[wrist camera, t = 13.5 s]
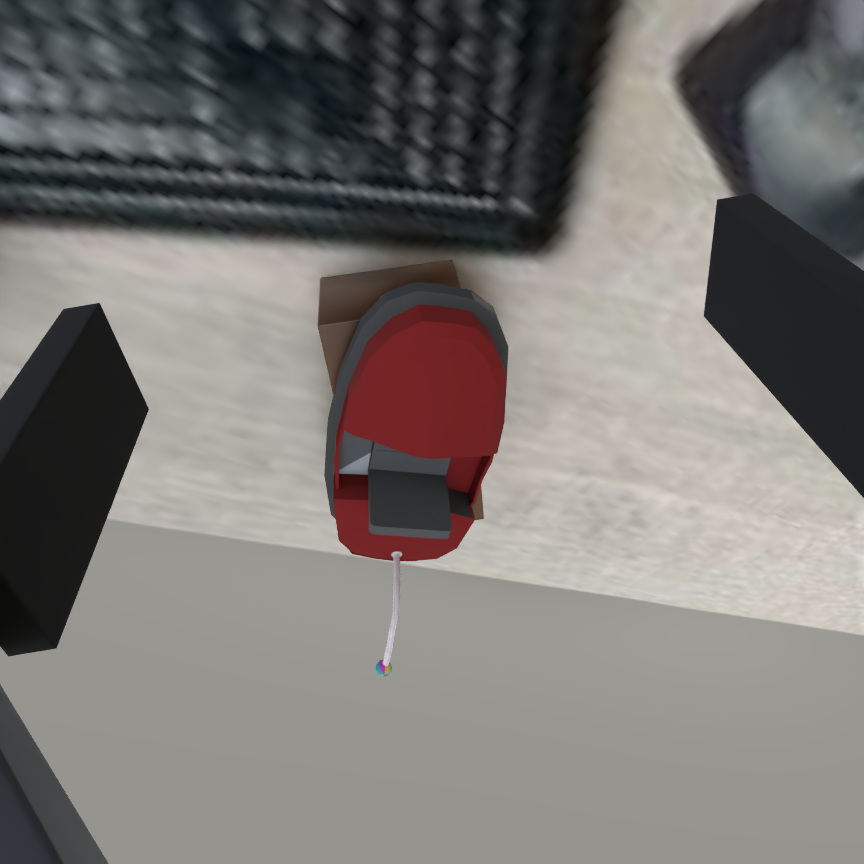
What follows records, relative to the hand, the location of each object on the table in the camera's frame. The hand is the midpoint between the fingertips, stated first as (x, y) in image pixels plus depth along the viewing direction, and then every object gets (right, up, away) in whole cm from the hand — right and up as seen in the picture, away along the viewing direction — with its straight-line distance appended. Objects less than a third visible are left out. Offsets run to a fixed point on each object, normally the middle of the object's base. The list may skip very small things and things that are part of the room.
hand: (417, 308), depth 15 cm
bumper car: (-1, -3, +27) cm, 27 cm away
